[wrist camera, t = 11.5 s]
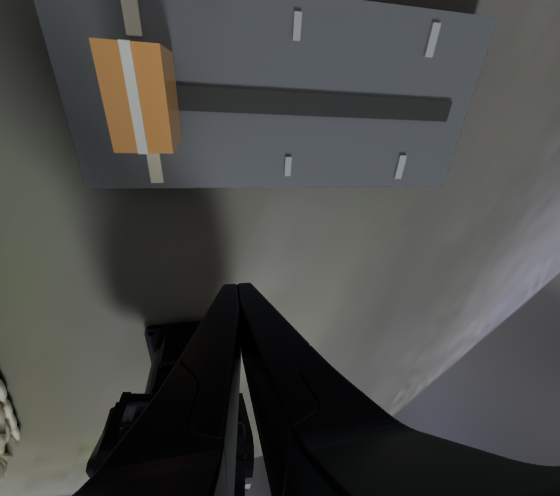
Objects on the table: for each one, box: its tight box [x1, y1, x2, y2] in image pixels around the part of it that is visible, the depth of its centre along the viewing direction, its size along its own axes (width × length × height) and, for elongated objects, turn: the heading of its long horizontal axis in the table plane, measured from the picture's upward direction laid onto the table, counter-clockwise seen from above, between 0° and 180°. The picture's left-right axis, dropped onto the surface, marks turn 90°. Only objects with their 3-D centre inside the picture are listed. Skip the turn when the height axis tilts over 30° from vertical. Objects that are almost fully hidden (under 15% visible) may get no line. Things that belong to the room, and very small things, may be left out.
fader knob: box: [89, 38, 182, 154], centre depth 13 cm, size 4×2×4 cm, turn 177°
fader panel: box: [33, 0, 499, 189], centre depth 18 cm, size 10×24×2 cm, turn 87°
